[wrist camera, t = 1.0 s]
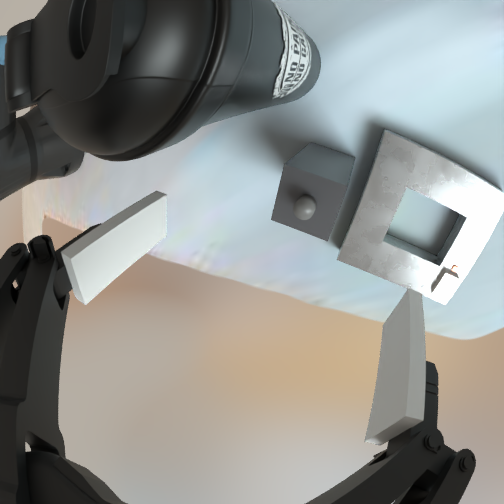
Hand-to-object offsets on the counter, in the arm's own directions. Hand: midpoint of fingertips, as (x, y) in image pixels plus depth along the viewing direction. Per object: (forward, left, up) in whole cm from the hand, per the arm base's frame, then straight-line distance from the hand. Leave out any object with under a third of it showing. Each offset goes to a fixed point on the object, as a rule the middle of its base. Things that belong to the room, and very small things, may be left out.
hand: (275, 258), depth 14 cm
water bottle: (-7, +9, -16) cm, 20 cm away
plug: (0, 0, -16) cm, 16 cm away
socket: (+11, -1, -16) cm, 20 cm away
